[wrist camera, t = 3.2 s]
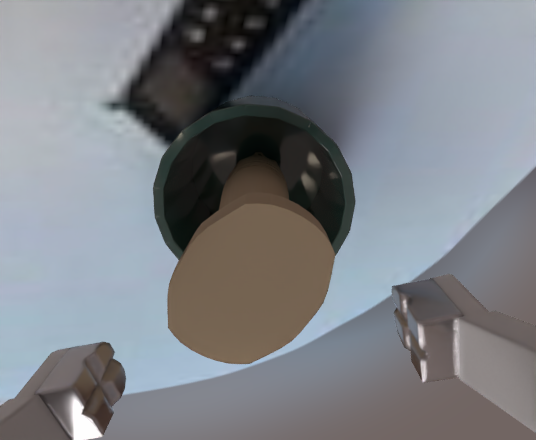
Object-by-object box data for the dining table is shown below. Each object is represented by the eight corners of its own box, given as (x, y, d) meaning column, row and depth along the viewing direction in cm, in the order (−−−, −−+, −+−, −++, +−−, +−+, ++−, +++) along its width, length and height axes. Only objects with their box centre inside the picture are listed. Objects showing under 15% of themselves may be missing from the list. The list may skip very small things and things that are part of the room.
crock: (166, 116, 23) (121, 134, 16) (315, 78, 23) (339, 79, 15) (210, 246, 28) (190, 307, 20) (337, 219, 27) (365, 273, 19)
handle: (308, 152, 24) (365, 252, 10) (262, 221, 26) (260, 380, 13) (251, 116, 23) (230, 175, 9) (208, 191, 25) (141, 328, 11)
